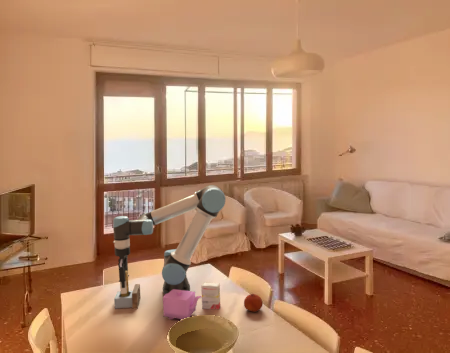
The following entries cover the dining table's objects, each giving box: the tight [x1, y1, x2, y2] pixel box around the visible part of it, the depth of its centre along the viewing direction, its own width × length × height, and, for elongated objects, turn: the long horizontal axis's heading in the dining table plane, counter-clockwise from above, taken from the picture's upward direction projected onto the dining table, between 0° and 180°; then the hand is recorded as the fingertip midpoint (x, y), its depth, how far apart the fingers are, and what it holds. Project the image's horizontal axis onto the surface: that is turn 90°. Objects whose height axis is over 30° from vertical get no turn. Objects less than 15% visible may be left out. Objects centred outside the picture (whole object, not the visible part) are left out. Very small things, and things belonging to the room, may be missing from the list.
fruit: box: [243, 293, 264, 313], centre depth 180 cm, size 9×9×8 cm
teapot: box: [162, 289, 202, 321], centre depth 175 cm, size 20×10×12 cm, turn 71°
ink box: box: [200, 281, 221, 310], centre depth 184 cm, size 9×5×12 cm, turn 79°
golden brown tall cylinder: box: [119, 270, 130, 297], centre depth 190 cm, size 4×4×13 cm
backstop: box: [132, 283, 141, 310], centre depth 191 cm, size 2×12×8 cm, turn 6°
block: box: [113, 290, 133, 309], centre depth 190 cm, size 9×9×5 cm
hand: (124, 291), depth 190 cm, fingers closed on golden brown tall cylinder, 4 cm apart
